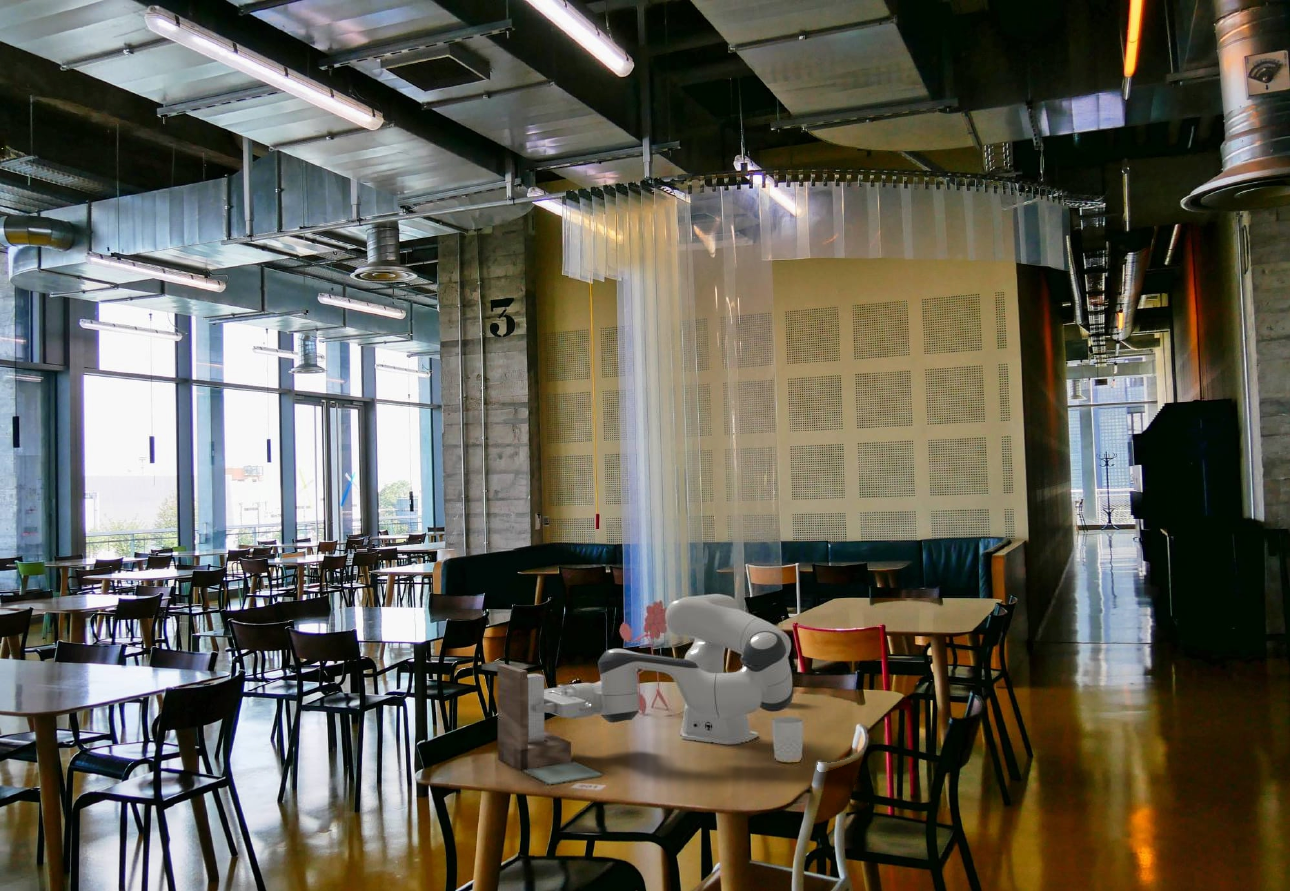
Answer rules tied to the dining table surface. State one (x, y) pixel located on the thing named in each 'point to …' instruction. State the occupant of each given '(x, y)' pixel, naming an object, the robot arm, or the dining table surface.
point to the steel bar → (534, 698)
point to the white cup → (787, 738)
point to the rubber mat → (562, 773)
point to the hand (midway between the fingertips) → (529, 707)
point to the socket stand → (523, 726)
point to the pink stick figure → (656, 626)
